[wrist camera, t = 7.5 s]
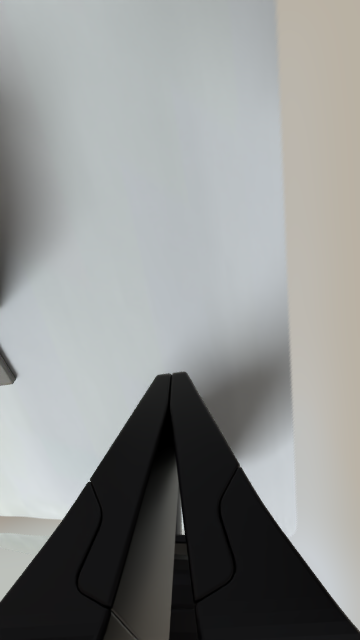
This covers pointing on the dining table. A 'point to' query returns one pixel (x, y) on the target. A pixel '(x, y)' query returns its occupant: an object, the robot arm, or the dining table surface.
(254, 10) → the dining table surface
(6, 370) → the mat
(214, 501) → the robot arm
